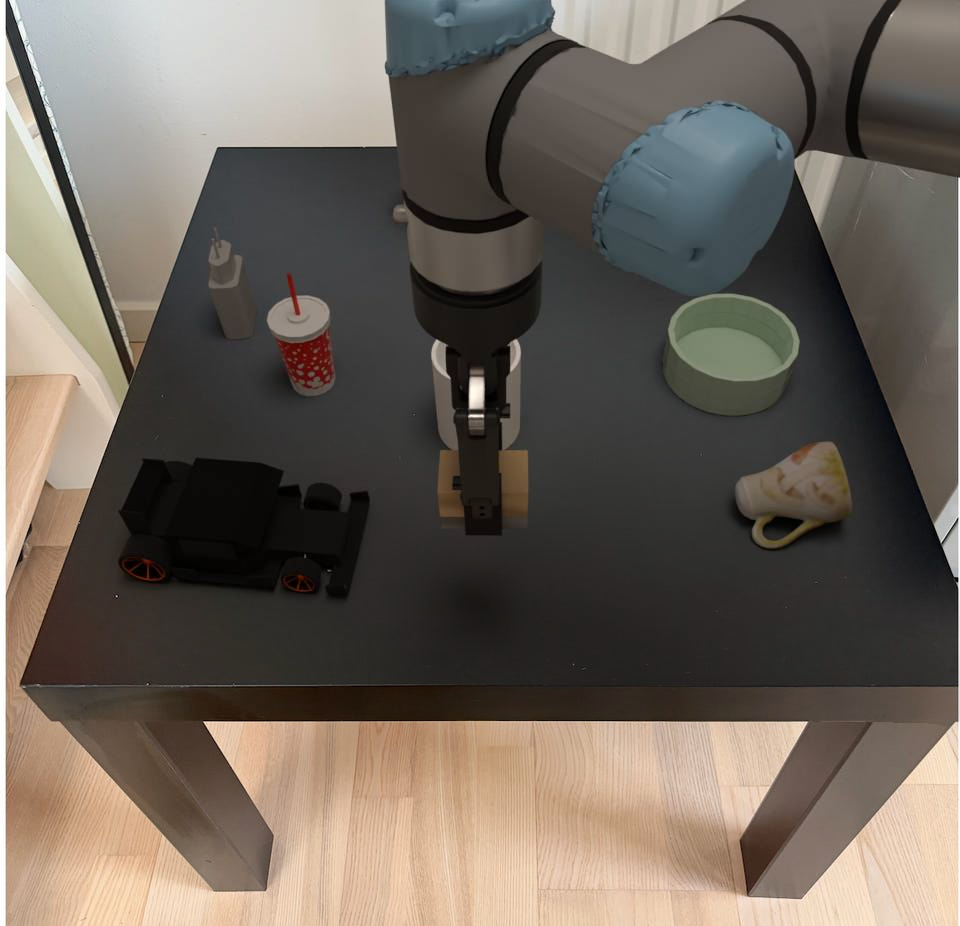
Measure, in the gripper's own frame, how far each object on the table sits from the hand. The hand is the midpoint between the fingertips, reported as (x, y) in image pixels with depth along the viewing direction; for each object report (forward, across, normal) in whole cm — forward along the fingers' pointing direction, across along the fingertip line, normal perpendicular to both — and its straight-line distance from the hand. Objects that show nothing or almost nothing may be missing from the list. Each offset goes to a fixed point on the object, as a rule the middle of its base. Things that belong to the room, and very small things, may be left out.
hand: (484, 505), depth 69 cm
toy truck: (+13, -5, -22) cm, 25 cm away
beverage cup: (+13, -26, -19) cm, 34 cm away
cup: (+13, -21, -2) cm, 25 cm away
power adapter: (+13, -35, -28) cm, 46 cm away
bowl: (+12, -27, +24) cm, 38 cm away
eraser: (0, 0, 0) cm, 0 cm away
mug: (+12, -9, +27) cm, 31 cm away
